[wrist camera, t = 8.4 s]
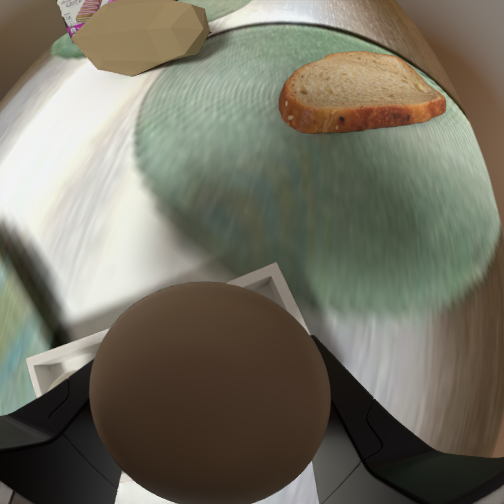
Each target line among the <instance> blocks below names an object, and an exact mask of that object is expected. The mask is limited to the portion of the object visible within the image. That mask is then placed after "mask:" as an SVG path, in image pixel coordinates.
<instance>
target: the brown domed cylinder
mask: <svg viewBox="0 0 504 504" xmlns="http://www.w3.org/2000/svg"><path fill="white" fill-rule="evenodd" d="M89 396H90V406H91V412H92V416H93V420H94V424H95V426H96V429H97V432H98V434H99V437H100V439H101V441H102V442H103V444H104V446H105V448H106V450H107V451H108V453H109V454H110V456H111V457H112V459H113V460H114V461H115V463H116V464H117V465H118V466H119V467H120V468H121V469H122V470H123V472H125V473H126V474H127V475H128V476H129V477H130V478H131V479H132V480H134V481H135V482H136V483H137V484H139V485H140V486H142V487H143V488H145V489H146V490H148V491H150V492H151V493H153V494H155V495H157V496H159V497H161V498H164V499H166V500H169V501H171V502H174V503H177V504H252V503H255V502H257V501H260V500H263V499H265V498H267V497H269V496H271V495H273V494H275V493H276V492H278V491H280V490H281V489H283V488H284V487H286V486H287V485H288V484H290V483H291V482H292V481H294V480H295V479H296V478H297V477H298V476H299V475H300V474H301V473H302V472H303V471H304V470H305V468H306V467H307V466H308V464H309V463H310V462H311V461H312V459H313V458H314V456H315V454H316V452H317V451H318V449H319V447H320V445H321V443H322V440H323V437H324V435H325V432H326V429H327V425H328V420H329V416H330V405H331V393H330V382H329V378H328V374H327V369H326V366H325V364H324V361H323V358H322V356H321V353H320V352H319V350H318V348H317V346H316V344H315V342H314V341H313V339H312V338H311V336H310V335H309V334H308V332H307V331H306V330H305V328H304V327H303V326H302V325H301V324H300V323H299V322H298V321H297V320H296V319H295V318H294V316H292V315H291V314H290V313H289V312H288V311H286V310H285V309H284V308H283V307H281V306H280V305H278V304H277V303H275V302H274V301H272V300H270V299H269V298H267V297H265V296H263V295H261V294H259V293H256V292H254V291H252V290H249V289H246V288H243V287H240V286H237V285H231V284H226V283H220V282H190V283H185V284H179V285H174V286H171V287H168V288H165V289H162V290H159V291H157V292H155V293H153V294H151V295H149V296H147V297H145V298H143V299H142V300H140V301H138V302H137V303H135V304H134V305H132V306H131V307H130V308H129V309H128V310H126V311H125V312H124V313H123V314H122V315H121V316H120V317H119V318H118V319H117V320H116V321H115V323H114V324H113V325H112V326H111V328H110V329H109V331H108V332H107V334H106V335H105V337H104V338H103V340H102V342H101V344H100V347H99V349H98V351H97V353H96V356H95V359H94V362H93V365H92V370H91V376H90V387H89Z"/></svg>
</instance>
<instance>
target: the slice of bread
mask: <svg viewBox="0 0 504 504" xmlns="http://www.w3.org/2000/svg"><path fill="white" fill-rule="evenodd" d="M279 111H280V113H281V117H282V119H283V120H284V121H285V122H286V123H287V124H288V125H289V126H291V127H292V128H294V129H295V130H297V131H299V132H302V133H309V134H316V133H347V132H352V131H364V130H367V129H378V128H385V127H386V128H387V127H396V126H403V125H410V124H415V123H423V122H426V121H429V120H430V119H431V118H434V117H437V116H439V115H442V114H443V113H444V112H445V111H446V100H445V97H444V96H443V95H441V93H440V92H438V91H436V90H435V89H433V88H432V87H431V86H429V85H428V84H427V83H426V82H425V81H424V80H423V79H422V78H421V77H420V76H419V75H418V74H417V73H416V71H415V70H414V69H413V68H412V67H411V66H409V65H408V64H407V63H406V62H404V61H403V60H401V59H400V58H398V57H396V56H392V55H386V54H378V53H371V52H365V51H361V52H353V51H351V52H347V53H344V52H341V53H336V54H330V55H327V56H326V57H325V58H324V59H322V60H319V61H316V62H313V63H309V64H306V65H304V66H303V67H301V68H300V69H298V70H296V71H295V72H294V73H293V75H292V76H291V77H290V78H289V79H288V80H287V81H286V82H285V84H284V86H283V89H282V91H281V94H280V98H279Z"/></svg>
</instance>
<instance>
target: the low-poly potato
mask: <svg viewBox="0 0 504 504" xmlns="http://www.w3.org/2000/svg"><path fill="white" fill-rule="evenodd" d="M210 33H212V32H210V30H209V26H208V21H207V17H206V13H205V9H204V8H201V7H198V6H194V5H191V4H187V3H183V2H178V1H174V0H115V1H112V2H109V3H107V4H104V5H103V6H102V7H100V8H99V9H98V10H97V11H96V12H95V13H94V14H93V15H92V16H91V17H90V18H89V19H88V20H87V21H86V22H85V23H84V25H83V26H82V27H81V28H80V29H79V30H78V31H77V32H76V33H75V34H74V35H73V36H72V38H71V40H72V41H73V42H74V43H75V44H76V45H77V46H78V48H79V49H80V50H81V51H82V52H83V53H84V54H85V56H86V57H87V58H88V59H89V60H90V61H91V62H92V63H93V65H94V66H95V67H96V68H97V69H98V70H104V71H109V72H114V73H118V74H123V75H127V76H132V77H133V76H135V75H137V74H139V73H142V72H144V71H146V70H148V69H151V68H153V67H156V66H158V65H161V64H163V63H166V62H168V61H172V60H176V59H179V58H183V57H187V56H191V55H195V54H198V53H199V51H200V49H201V47H202V45H203V44H204V42H205V40H206V38H207V36H208V34H210Z"/></svg>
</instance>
